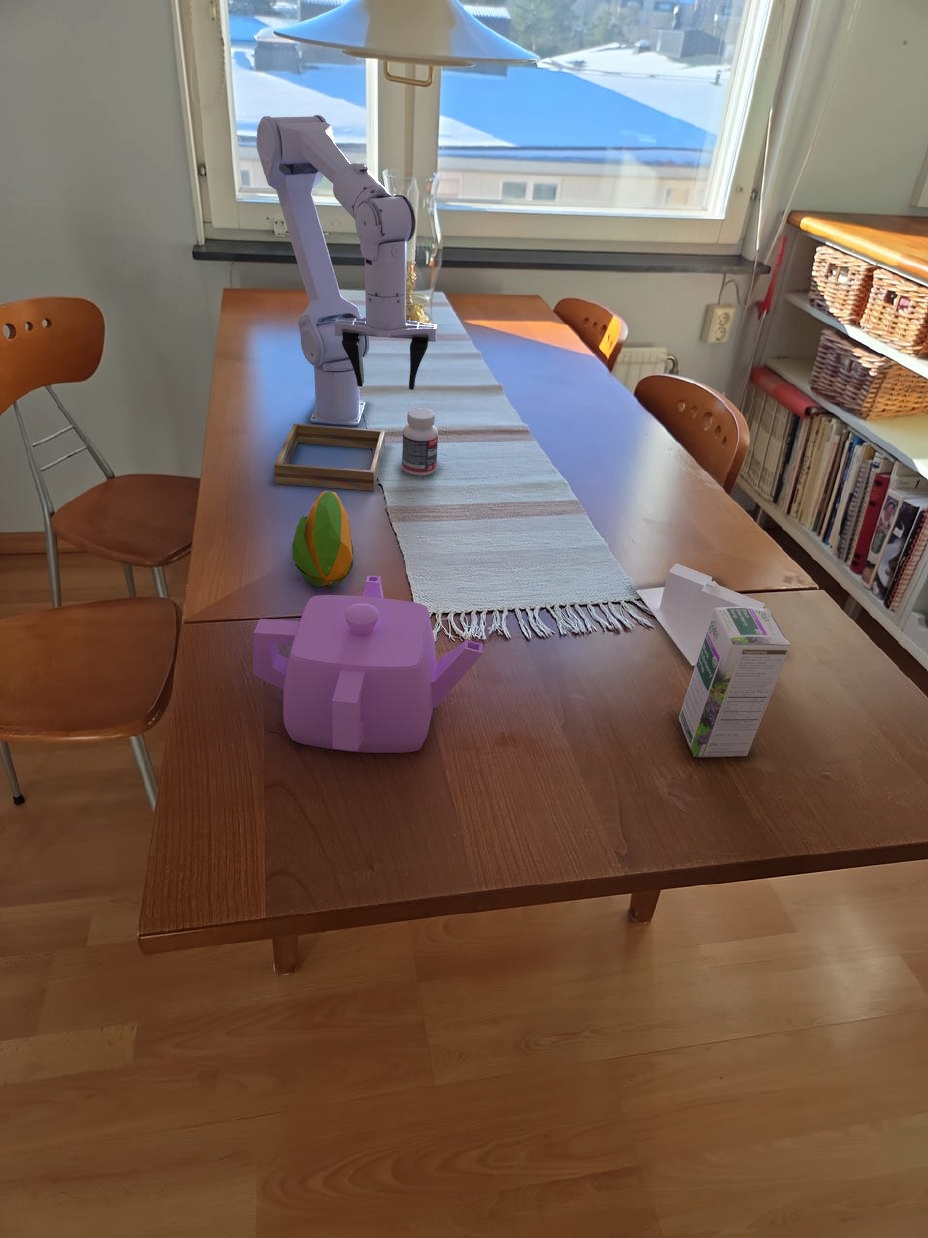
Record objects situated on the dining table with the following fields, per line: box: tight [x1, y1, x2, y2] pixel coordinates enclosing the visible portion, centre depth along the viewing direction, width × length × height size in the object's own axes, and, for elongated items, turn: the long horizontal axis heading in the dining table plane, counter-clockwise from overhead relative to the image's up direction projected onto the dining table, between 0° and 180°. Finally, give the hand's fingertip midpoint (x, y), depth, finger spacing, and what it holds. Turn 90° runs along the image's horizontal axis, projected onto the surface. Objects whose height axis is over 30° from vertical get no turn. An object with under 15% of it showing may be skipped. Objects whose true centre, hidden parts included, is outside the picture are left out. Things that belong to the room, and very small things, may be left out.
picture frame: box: [273, 423, 386, 492], centre depth 126 cm, size 14×14×3 cm
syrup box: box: [678, 607, 792, 758], centre depth 81 cm, size 6×6×14 cm
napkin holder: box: [635, 562, 767, 667], centre depth 99 cm, size 15×11×6 cm
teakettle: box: [252, 574, 484, 754], centre depth 82 cm, size 17×17×12 cm
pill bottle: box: [401, 407, 439, 477], centre depth 125 cm, size 5×5×9 cm
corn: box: [292, 490, 354, 588], centre depth 105 cm, size 7×8×20 cm
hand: (386, 385), depth 126 cm, fingers open, 7 cm apart
